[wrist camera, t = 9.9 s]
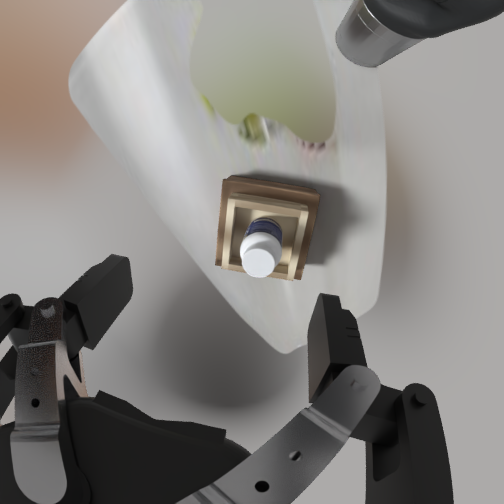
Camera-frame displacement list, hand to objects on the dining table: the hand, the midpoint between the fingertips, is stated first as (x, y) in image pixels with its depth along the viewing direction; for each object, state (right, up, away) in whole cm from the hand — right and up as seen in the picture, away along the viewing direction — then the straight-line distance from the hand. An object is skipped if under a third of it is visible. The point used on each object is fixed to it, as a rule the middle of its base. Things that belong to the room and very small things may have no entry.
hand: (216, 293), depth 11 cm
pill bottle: (+3, +5, +30) cm, 31 cm away
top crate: (+3, +5, +31) cm, 31 cm away
